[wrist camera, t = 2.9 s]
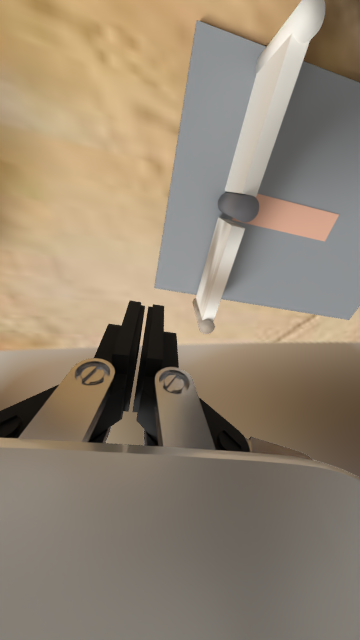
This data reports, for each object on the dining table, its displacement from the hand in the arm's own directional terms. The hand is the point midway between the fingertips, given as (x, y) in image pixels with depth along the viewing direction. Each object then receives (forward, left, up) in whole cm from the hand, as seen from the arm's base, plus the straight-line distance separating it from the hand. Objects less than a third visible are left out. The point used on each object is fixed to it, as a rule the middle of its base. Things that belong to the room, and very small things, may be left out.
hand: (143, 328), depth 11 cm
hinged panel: (0, +6, -12) cm, 13 cm away
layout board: (-6, +13, -12) cm, 19 cm away
